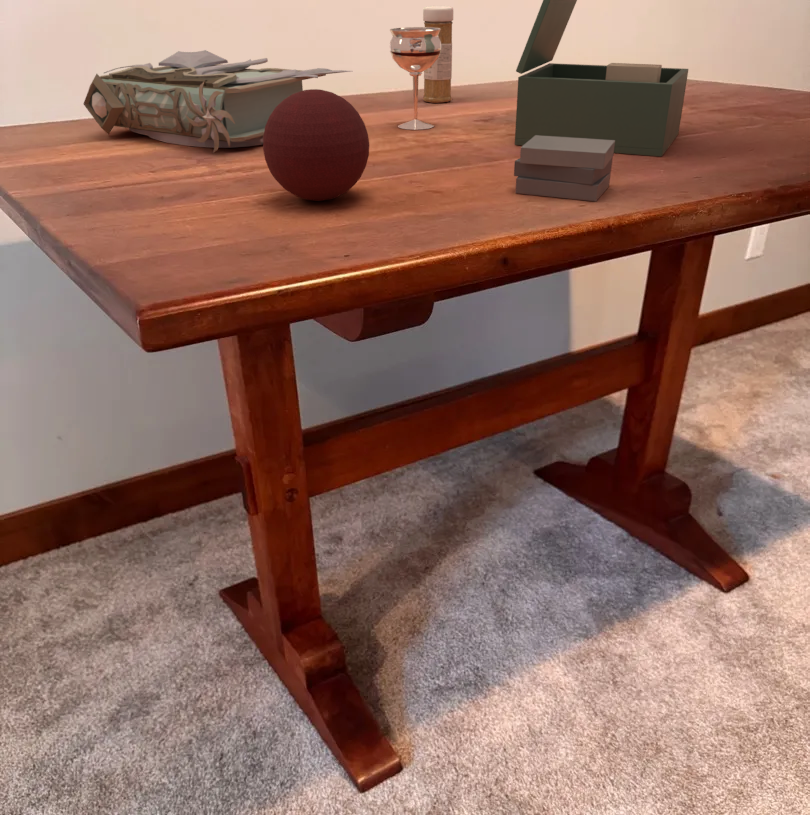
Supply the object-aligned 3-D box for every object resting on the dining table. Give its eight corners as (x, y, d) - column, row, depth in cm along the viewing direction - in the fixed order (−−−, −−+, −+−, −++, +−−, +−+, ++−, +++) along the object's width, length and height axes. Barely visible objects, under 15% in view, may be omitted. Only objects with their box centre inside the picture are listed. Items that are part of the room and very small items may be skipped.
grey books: (613, 185, 81) (619, 139, 79) (599, 202, 75) (604, 154, 73) (530, 177, 84) (532, 133, 82) (510, 193, 79) (512, 146, 76)
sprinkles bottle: (418, 100, 128) (418, 6, 121) (444, 98, 129) (445, 5, 123) (430, 104, 124) (431, 7, 117) (457, 102, 126) (458, 6, 119)
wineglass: (420, 119, 113) (420, 26, 107) (450, 126, 108) (452, 29, 102) (381, 125, 110) (378, 29, 104) (410, 133, 105) (409, 32, 99)
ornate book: (81, 143, 106) (247, 160, 92) (63, 65, 102) (234, 70, 87) (203, 116, 123) (361, 127, 108) (193, 47, 118) (356, 49, 103)
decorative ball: (335, 180, 84) (330, 78, 79) (391, 200, 77) (389, 90, 72) (250, 197, 79) (238, 89, 74) (301, 220, 72) (292, 102, 67)
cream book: (652, 134, 98) (662, 64, 94) (649, 138, 96) (658, 67, 92) (603, 131, 100) (611, 62, 96) (599, 135, 99) (606, 65, 95)
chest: (678, 134, 102) (688, 68, 98) (661, 156, 91) (672, 84, 88) (544, 125, 109) (549, 63, 105) (514, 145, 98) (518, 76, 94)
